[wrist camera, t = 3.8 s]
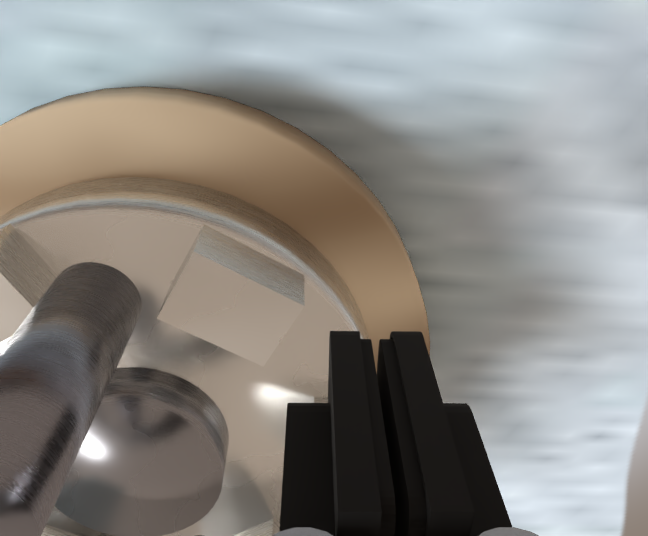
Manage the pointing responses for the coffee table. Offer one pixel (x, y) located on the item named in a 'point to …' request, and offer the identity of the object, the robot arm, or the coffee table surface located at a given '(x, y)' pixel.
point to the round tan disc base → (221, 179)
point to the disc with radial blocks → (155, 359)
